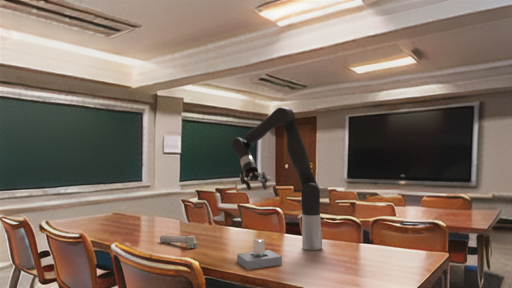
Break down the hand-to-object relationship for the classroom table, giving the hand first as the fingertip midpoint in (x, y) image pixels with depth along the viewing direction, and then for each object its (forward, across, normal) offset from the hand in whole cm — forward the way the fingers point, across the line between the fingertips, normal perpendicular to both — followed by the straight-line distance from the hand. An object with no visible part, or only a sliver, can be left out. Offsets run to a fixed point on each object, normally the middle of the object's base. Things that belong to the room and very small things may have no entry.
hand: (257, 188), depth 179 cm
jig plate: (+36, -9, +7) cm, 38 cm away
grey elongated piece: (+3, -34, +41) cm, 54 cm away
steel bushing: (+36, -9, +7) cm, 38 cm away
